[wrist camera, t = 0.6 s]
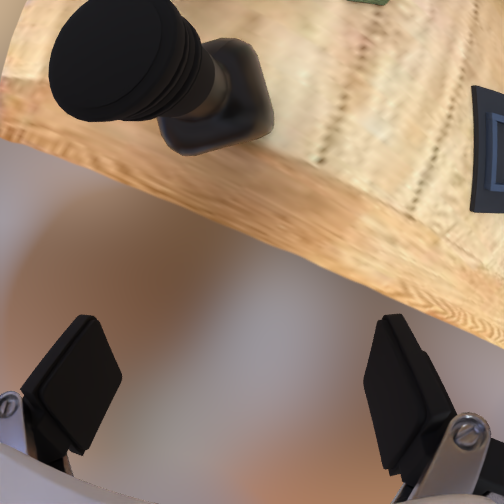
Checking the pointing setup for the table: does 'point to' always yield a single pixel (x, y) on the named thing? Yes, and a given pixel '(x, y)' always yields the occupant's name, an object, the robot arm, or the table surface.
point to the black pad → (488, 151)
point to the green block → (372, 1)
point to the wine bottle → (159, 75)
